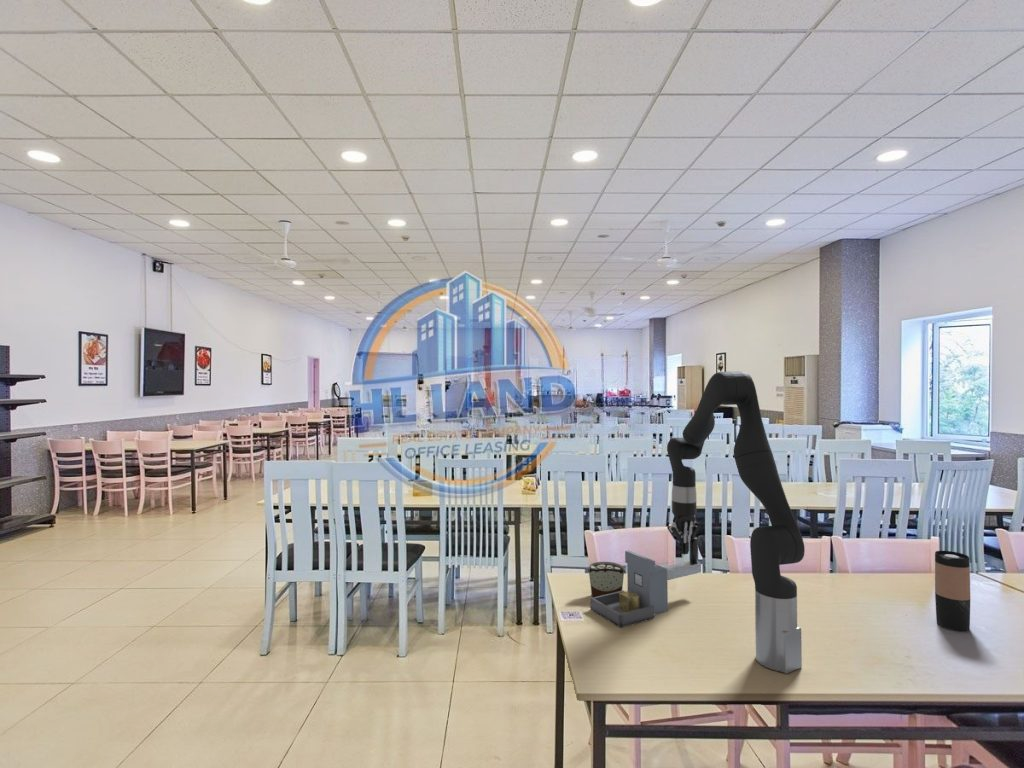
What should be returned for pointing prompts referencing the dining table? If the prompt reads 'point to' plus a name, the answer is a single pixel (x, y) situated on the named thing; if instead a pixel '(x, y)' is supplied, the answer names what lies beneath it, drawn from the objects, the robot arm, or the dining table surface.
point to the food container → (605, 578)
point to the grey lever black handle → (681, 565)
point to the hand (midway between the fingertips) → (684, 553)
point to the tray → (619, 610)
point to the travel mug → (952, 590)
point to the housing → (647, 582)
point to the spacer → (628, 601)
